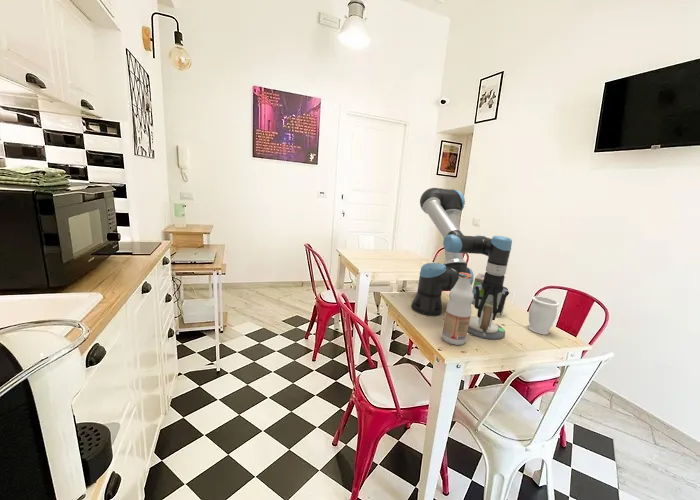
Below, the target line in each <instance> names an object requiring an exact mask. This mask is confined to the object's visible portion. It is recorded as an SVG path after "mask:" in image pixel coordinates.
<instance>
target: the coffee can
mask: <svg viewBox="0 0 700 500" xmlns="http://www.w3.org/2000/svg"><path fill="white" fill-rule="evenodd" d="M503 288H504V289H505V290H508V291H509V288H508V287H506V286H504V285H503ZM501 296H502V291H501V292H500V293H499V294H498V296H497V309H498V306H499V302H500V299H501ZM505 304H506V302H505V303H504V306H503V309H502V312H501V313H497V314H496V317H495V318H498V317H499V318H500V317H503V315H504V309H505ZM484 305H487V306H491V307H492V312H493V295H488V297H487V299H486V302H485V304H484ZM483 309H484V307H483ZM483 309H482V310H483Z"/></svg>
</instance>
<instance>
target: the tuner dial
mask: <svg viewBox="0 0 700 500" xmlns="http://www.w3.org/2000/svg"><path fill="white" fill-rule="evenodd" d="M483 311H484V313H483V318H482V323H481V326H479V324H478V321H479V317H478V316H471V317H470V322H469V327H470V328H472V329H474V330H476V331H479V332H484V333H496V332H497V331H498V325H499V324H498V323H496V324H495V322H494V321H492V323H491V328H489V327H488V325H489V320H490V316H491V311H492V307H491V306H487V305H484V309H483ZM497 324H498V325H497Z"/></svg>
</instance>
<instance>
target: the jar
mask: <svg viewBox="0 0 700 500" xmlns="http://www.w3.org/2000/svg"><path fill="white" fill-rule="evenodd" d="M559 305H560V303H559V302H558V301H556V300H554V299H551V298H548V297H543V296H538V295H536V296H532V302H531V304H530V307H529V311H528V322H529V323H528V324H529V325H528V326H527V328H528V329H529V330H530V331H531V332H533V333H536V334H540V335H544V336H546V335H549V334H550V331H549V330H550V329H551V328H552V326H553V325H554V322H555V320H556V319H557V318H556V317H557V315H558V314H557V313H558V307H559Z"/></svg>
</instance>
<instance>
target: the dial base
mask: <svg viewBox="0 0 700 500" xmlns="http://www.w3.org/2000/svg"><path fill="white" fill-rule="evenodd" d="M494 323H495V322H494ZM495 324H497V325H498V331H497V332H496V333H484V332H479V331H476V330H474V329H472V328H470V327H468V332H467V335H471V336H473V337H476V338H480V339H485V340H491V341H494V340H495V341H496V340H502V339H503V338H505V336H506V331H505V329H504V328H503V327H502V326H501V325H499V324H498V323H495Z"/></svg>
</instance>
